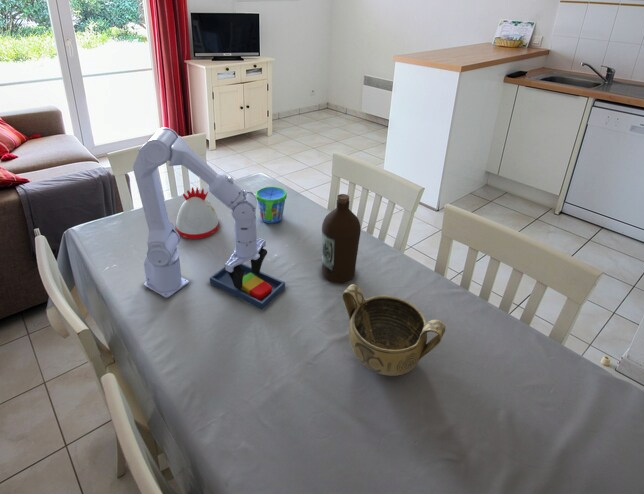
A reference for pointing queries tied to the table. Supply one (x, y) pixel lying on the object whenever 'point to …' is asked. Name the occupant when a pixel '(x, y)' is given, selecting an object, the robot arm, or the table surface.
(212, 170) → the robot arm
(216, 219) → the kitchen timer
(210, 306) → the table surface
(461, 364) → the table surface
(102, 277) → the table surface
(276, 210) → the snack cup
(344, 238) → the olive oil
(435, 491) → the table surface
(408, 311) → the ceramic bowl
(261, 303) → the tray
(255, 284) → the popsicle
